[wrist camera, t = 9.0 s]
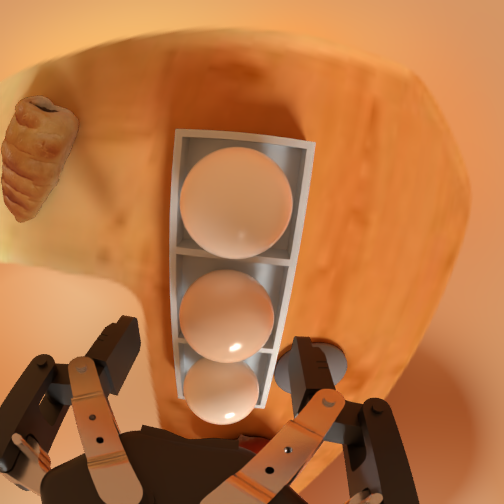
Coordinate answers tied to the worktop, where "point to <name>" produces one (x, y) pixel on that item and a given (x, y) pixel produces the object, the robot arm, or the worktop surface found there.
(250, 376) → the egg
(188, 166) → the carton
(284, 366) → the mat
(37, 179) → the pastry
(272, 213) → the egg
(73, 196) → the worktop surface
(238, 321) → the pale pink ball
